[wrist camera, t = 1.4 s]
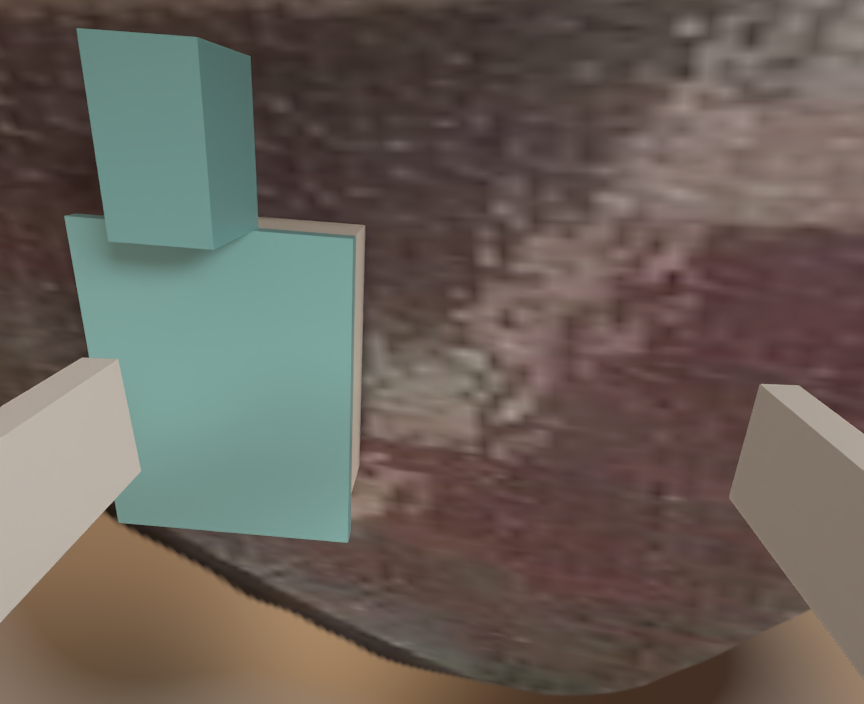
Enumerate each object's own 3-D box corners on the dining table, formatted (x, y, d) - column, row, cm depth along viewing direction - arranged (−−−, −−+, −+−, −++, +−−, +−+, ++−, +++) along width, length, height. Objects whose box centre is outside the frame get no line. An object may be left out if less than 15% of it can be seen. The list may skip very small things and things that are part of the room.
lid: (46, 40, 23) (-59, 18, 18) (359, 64, 23) (334, 47, 18) (126, 513, 32) (69, 579, 27) (350, 533, 32) (331, 602, 27)
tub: (154, 208, 31) (88, 225, 26) (365, 225, 31) (345, 245, 25) (182, 450, 37) (133, 507, 32) (359, 465, 37) (341, 525, 31)
